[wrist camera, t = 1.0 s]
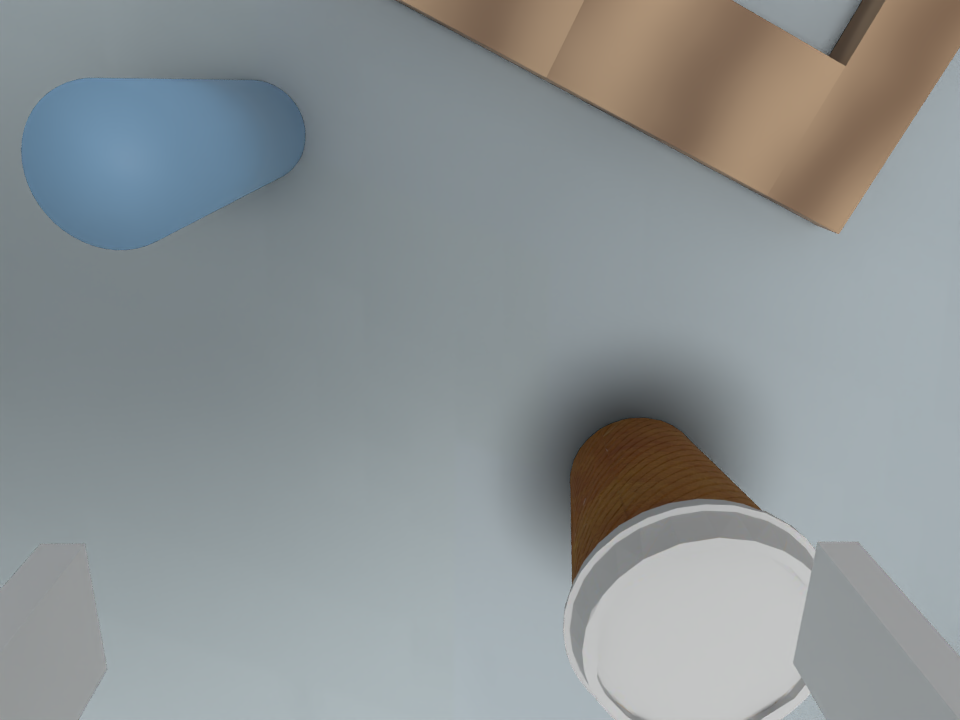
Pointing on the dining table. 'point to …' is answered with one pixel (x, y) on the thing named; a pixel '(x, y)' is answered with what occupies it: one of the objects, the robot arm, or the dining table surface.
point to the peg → (154, 153)
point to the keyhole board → (734, 82)
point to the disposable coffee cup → (679, 584)
